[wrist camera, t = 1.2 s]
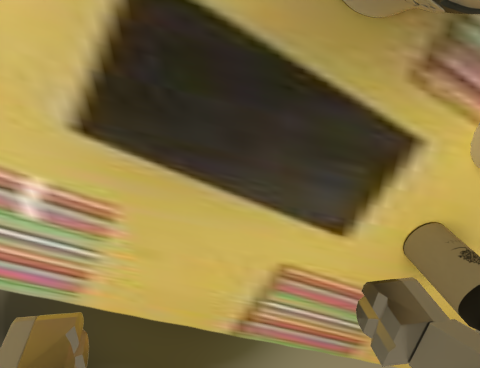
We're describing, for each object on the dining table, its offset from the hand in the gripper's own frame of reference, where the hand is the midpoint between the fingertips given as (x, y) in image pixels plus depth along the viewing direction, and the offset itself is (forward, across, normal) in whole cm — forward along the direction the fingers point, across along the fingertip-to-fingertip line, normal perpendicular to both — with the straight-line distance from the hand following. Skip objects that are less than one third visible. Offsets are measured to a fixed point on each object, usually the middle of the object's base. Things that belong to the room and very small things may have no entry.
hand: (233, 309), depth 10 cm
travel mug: (+33, -41, +28) cm, 60 cm away
